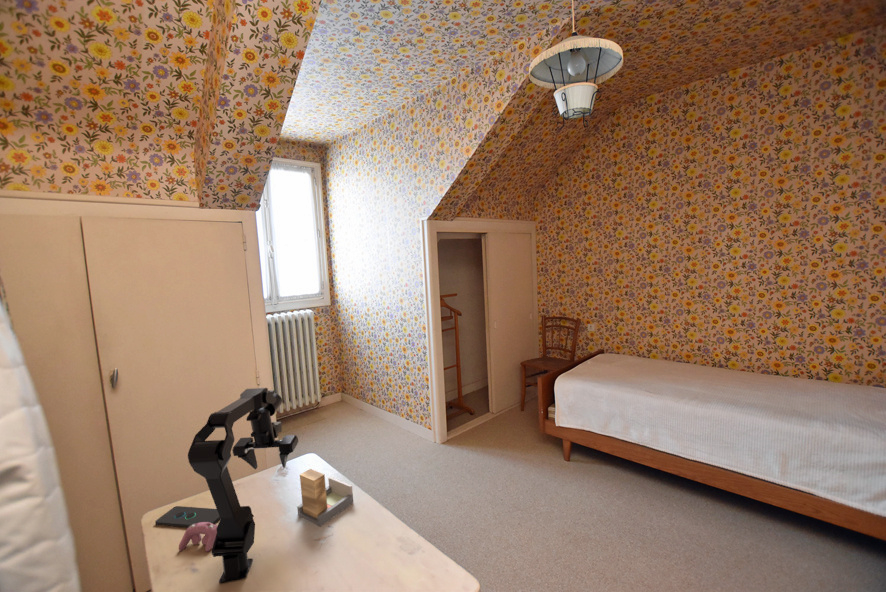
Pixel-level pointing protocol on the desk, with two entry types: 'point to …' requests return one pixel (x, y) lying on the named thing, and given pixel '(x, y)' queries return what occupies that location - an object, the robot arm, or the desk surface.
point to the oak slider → (313, 492)
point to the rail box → (331, 502)
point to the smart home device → (188, 516)
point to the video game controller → (195, 536)
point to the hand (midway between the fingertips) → (270, 467)
